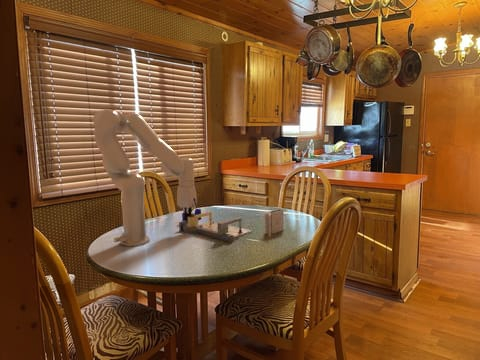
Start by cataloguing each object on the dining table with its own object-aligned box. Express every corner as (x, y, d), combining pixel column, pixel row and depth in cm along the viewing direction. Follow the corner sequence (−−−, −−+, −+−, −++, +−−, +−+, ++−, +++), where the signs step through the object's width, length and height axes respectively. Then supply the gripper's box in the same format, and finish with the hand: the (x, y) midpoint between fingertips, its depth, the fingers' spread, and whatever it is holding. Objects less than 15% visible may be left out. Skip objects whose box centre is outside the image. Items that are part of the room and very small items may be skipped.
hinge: (270, 236, 168) (269, 215, 166) (260, 235, 171) (259, 214, 170) (284, 229, 179) (284, 209, 177) (275, 228, 182) (275, 208, 181)
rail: (228, 243, 159) (228, 233, 158) (179, 230, 180) (179, 222, 180) (234, 241, 162) (234, 231, 161) (185, 229, 183) (185, 220, 183)
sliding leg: (191, 231, 174) (190, 214, 173) (188, 230, 175) (187, 214, 174) (213, 225, 185) (212, 209, 184) (210, 224, 186) (209, 208, 185)
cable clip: (195, 218, 205) (194, 208, 204) (201, 219, 203) (200, 209, 202) (180, 223, 195) (180, 212, 195) (186, 224, 193) (186, 213, 192)
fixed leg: (221, 239, 161) (221, 223, 160) (217, 238, 162) (217, 223, 161) (243, 231, 172) (242, 217, 171) (239, 231, 173) (239, 216, 172)
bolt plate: (235, 237, 167) (235, 234, 166) (194, 228, 185) (194, 225, 185) (251, 232, 176) (251, 229, 175) (211, 223, 194) (210, 220, 194)
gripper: (170, 183, 177) (172, 219, 180) (191, 186, 168) (192, 224, 170) (182, 181, 183) (183, 216, 186) (202, 183, 173) (204, 221, 176)
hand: (188, 220), depth 178 cm, fingers closed
